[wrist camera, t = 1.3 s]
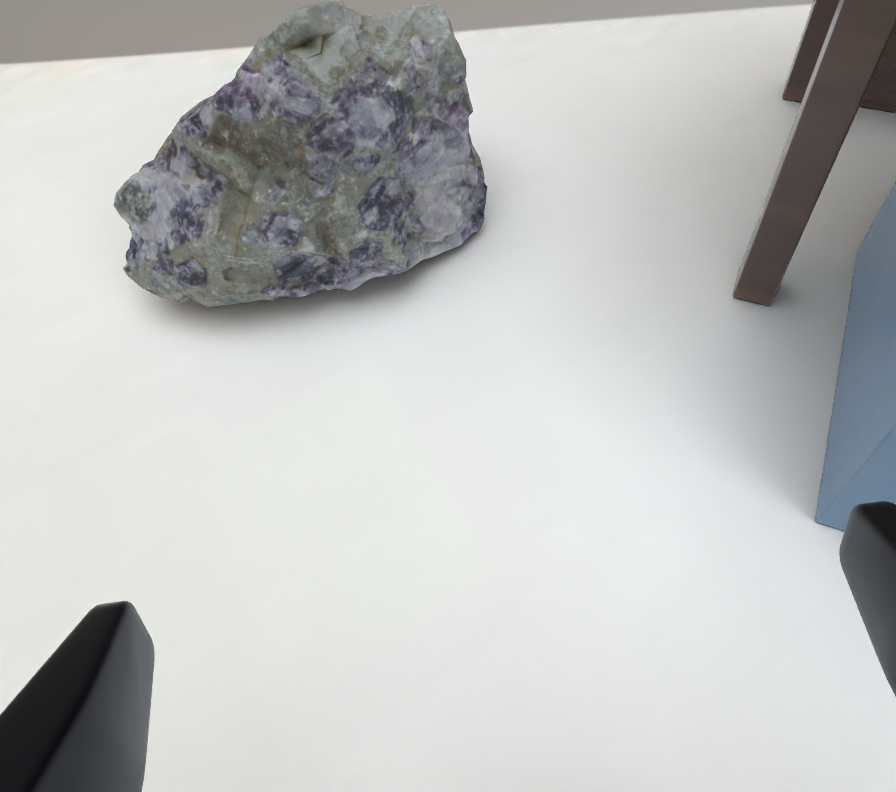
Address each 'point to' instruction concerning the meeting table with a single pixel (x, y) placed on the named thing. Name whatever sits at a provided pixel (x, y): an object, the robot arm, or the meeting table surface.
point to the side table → (820, 125)
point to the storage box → (865, 384)
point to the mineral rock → (313, 164)
